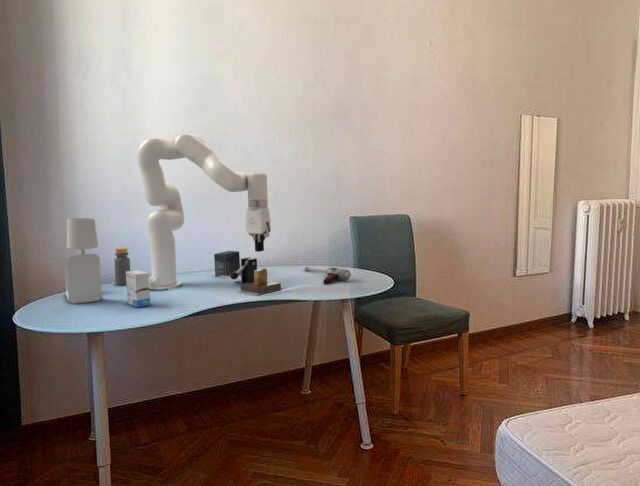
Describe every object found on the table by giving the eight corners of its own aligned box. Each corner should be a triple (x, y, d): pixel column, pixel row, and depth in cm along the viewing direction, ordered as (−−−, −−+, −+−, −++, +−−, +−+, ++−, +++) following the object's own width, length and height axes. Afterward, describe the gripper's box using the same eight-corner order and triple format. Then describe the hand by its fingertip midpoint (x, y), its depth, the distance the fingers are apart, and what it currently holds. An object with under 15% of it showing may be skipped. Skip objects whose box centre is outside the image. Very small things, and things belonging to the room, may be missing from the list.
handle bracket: (247, 287, 215) (246, 260, 214) (234, 284, 220) (234, 258, 219) (263, 283, 222) (263, 258, 221) (251, 280, 227) (250, 256, 226)
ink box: (150, 305, 185) (149, 272, 184) (136, 308, 181) (135, 274, 180) (140, 301, 191) (139, 269, 190) (126, 303, 187) (125, 271, 186)
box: (229, 272, 246) (228, 250, 245) (240, 273, 243) (240, 251, 242) (214, 276, 236) (213, 253, 235) (225, 277, 234) (225, 254, 232)
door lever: (235, 281, 214) (232, 275, 212) (230, 280, 216) (227, 274, 214) (255, 264, 221) (252, 258, 220) (250, 263, 223) (247, 257, 222)
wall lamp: (96, 291, 207) (92, 214, 203) (103, 302, 189) (99, 219, 185) (65, 294, 201) (61, 215, 198) (70, 306, 183) (65, 220, 180)
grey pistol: (287, 280, 246) (310, 272, 254) (330, 288, 218) (355, 279, 226) (285, 270, 245) (308, 262, 253) (328, 277, 218) (353, 268, 225)
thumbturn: (257, 284, 205) (257, 270, 205) (254, 284, 206) (254, 269, 206) (267, 282, 209) (267, 268, 208) (263, 282, 210) (263, 268, 210)
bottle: (115, 283, 222) (114, 247, 220) (130, 282, 224) (129, 247, 222) (115, 285, 216) (113, 249, 215) (130, 284, 218) (128, 249, 217)
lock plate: (257, 295, 200) (257, 287, 200) (240, 291, 207) (240, 284, 206) (280, 290, 210) (280, 282, 209) (263, 286, 216) (263, 279, 215)
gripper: (237, 204, 206) (239, 250, 208) (263, 205, 197) (265, 254, 199) (252, 203, 212) (254, 248, 214) (278, 204, 203) (279, 251, 205)
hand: (259, 251), depth 207 cm, fingers closed
